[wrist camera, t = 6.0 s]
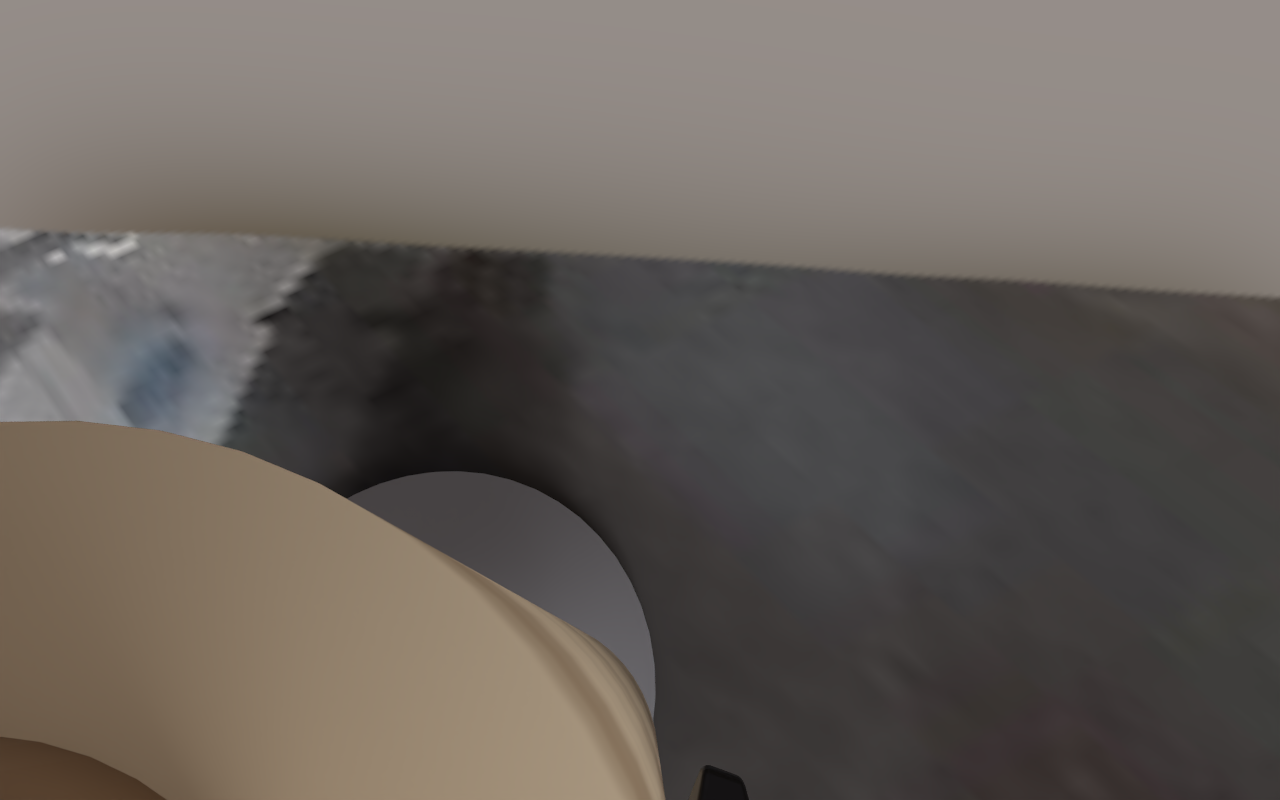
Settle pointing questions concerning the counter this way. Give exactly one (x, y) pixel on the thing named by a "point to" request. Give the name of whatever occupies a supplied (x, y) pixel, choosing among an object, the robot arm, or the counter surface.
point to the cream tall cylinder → (275, 643)
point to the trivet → (524, 553)
